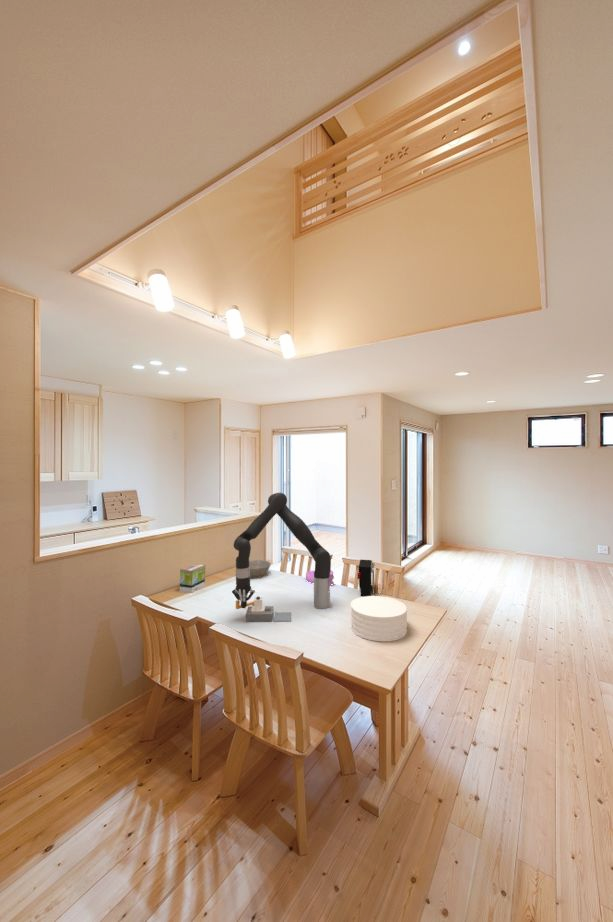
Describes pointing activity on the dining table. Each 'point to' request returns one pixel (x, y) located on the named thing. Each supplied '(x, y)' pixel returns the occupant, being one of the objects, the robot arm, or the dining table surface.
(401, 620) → the plate stack
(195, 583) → the tea box
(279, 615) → the mat
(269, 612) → the grey rectangular tray
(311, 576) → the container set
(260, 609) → the plug
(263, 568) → the ceramic bowl
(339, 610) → the dining table surface
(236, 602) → the clip
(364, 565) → the electrical component
